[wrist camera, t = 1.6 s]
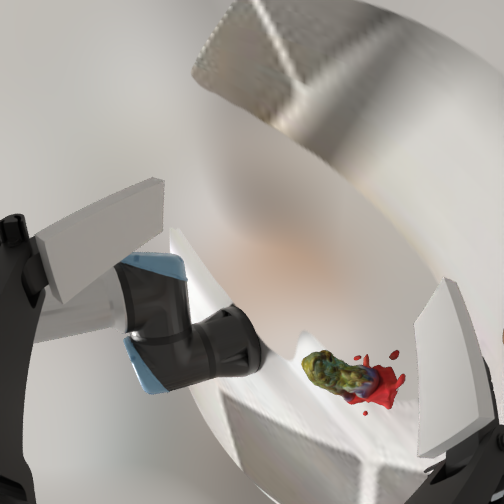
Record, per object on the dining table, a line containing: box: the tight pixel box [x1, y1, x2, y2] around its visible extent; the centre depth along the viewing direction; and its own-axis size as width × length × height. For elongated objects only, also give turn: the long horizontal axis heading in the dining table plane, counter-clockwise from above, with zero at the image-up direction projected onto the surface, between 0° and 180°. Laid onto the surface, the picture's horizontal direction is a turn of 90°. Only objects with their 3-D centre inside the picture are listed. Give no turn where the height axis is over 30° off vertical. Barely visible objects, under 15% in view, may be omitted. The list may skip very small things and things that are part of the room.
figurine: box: [301, 350, 405, 416], centre depth 25 cm, size 8×10×12 cm
